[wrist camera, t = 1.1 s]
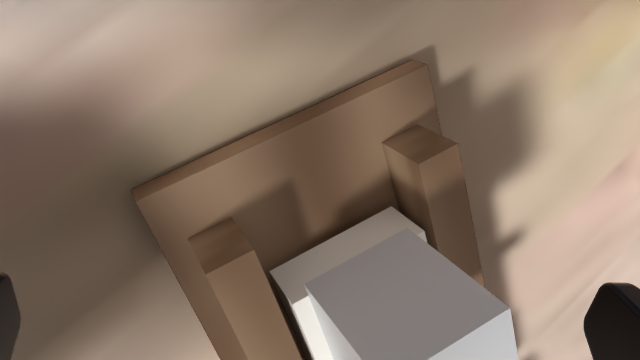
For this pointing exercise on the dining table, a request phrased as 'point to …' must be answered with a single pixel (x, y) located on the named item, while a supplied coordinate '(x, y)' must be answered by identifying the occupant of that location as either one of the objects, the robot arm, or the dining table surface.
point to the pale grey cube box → (390, 299)
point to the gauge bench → (306, 203)
